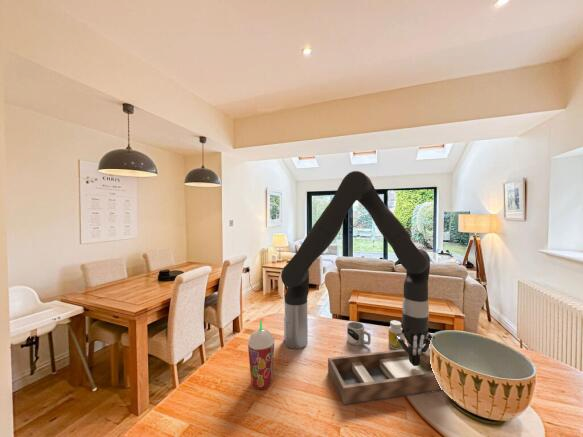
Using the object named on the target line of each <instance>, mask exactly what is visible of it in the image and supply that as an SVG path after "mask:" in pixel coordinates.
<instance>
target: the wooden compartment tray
mask: <svg viewBox="0 0 583 437" xmlns="http://www.w3.org/2000/svg"><path fill="white" fill-rule="evenodd" d="M327 374H328V375H329V377H330V380H331V382H332V384H333V386H334V388H335V391H336V392H337V395H338V397H339V399H340V401H341V403H342V406H349V405H357V404H362V403H369V402H374V401H375V402H376V401H381V400H382V401H383V400H389V399H395V398H401V397H408V395H410V396H416V395H422V393H423V394H427V393H426V392H429V393H433V392H432V391H436V392H442V390H441V388H440V386H439V384H438V382H437V380H436V378H435V375H434V373H433V371H426V370H425V369H424V368H423V367H421V366H420V365H419V366H413V365H412V364H411V363H410V361H409V354H408V353H407V352H406V351H405V350H404V349H403V348H402V349H400V350H396V349H392V350H384V351H383V350H382V351H377V352H376V351H375V352H368V353H360V354H349V355H344V356H341V355H340V356H334V357H332V356H331V357H327Z"/></svg>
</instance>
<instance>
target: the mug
mask: <svg viewBox="0 0 583 437" xmlns="http://www.w3.org/2000/svg"><path fill="white" fill-rule="evenodd" d="M346 330H347V331H346V333H347V334H346V335H347V336H346V337H347V343H348V344H350V346H351V345H352V346H356V347H360V346H363V345H367V346H370V344H371V339H372V338H371V334H370V332H368V331H367V330H365V325H364V324H363V323H362V322H359V321H358V322H357V321H350V322H348V323H347V329H346ZM365 335H366V337H367V340H365Z"/></svg>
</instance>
